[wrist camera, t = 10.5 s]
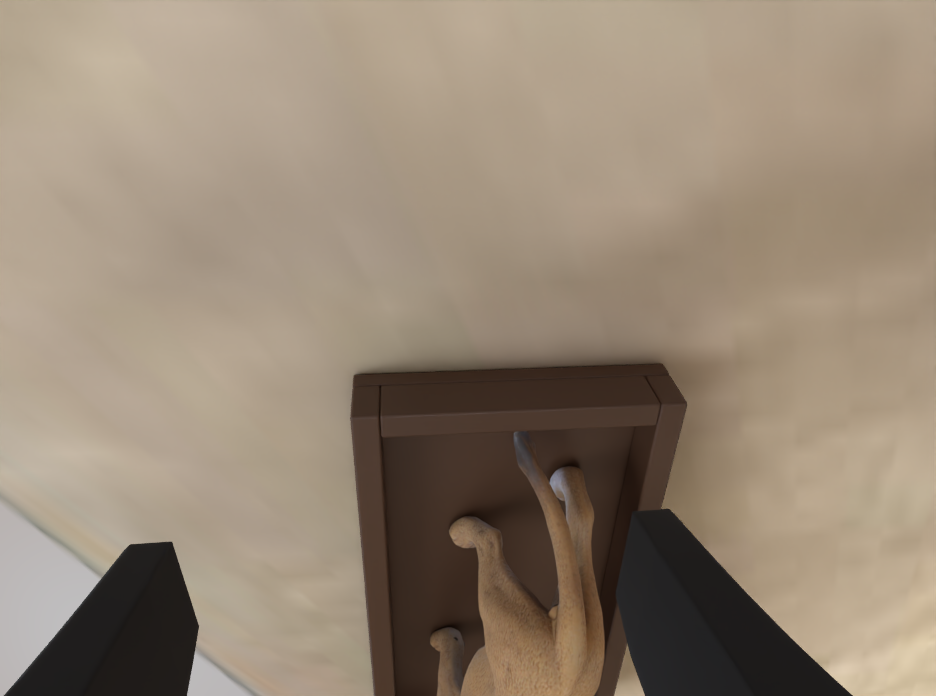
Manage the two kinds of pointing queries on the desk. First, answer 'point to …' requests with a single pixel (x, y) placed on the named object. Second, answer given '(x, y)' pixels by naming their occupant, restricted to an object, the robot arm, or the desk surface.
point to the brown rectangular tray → (495, 494)
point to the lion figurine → (531, 602)
